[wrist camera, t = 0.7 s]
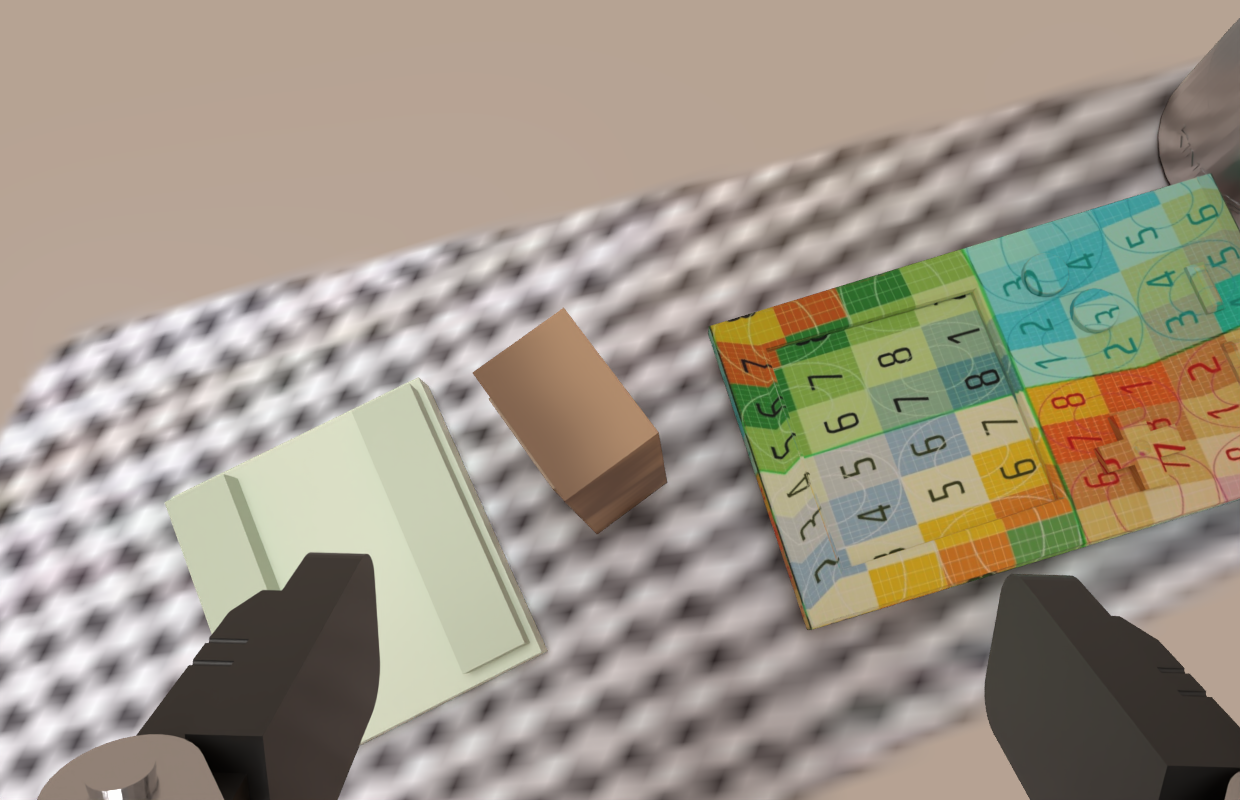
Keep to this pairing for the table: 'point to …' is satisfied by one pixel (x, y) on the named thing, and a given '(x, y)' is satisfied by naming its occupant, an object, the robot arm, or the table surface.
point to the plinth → (371, 546)
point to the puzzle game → (996, 401)
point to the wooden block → (575, 421)
